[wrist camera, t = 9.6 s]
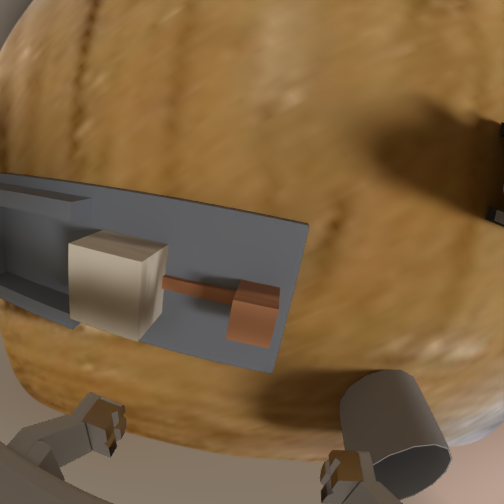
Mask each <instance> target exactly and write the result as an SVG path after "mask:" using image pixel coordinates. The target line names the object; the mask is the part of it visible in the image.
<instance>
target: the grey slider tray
mask: <svg viewBox="0 0 504 504" xmlns="http://www.w3.org/2000/svg"><path fill="white" fill-rule="evenodd" d="M308 229H309V224H308V223H303V222H299V221H294V220H289V219H284V218H280V217H275V216H270V215H265V214H260V213H255V212H250V211H245V210H240V209H235V208H229V207H224V206H219V205H214V204H208V203H203V202H197V201H192V200H186V199H180V198H175V197H169V196H163V195H157V194H151V193H145V192H139V191H133V190H127V189H121V188H114V187H108V186H101V185H95V184H88V183H81V182H74V181H67V180H59V179H52V178H44V177H37V176H29V175H20V174H12V173H0V298H2V299H4V300H6V301H8V302H10V303H12V304H14V305H16V306H18V307H21V308H23V309H25V310H27V311H29V312H32V313H34V314H36V315H38V316H41V317H43V318H45V319H48V320H50V321H52V322H55V323H57V324H60V325H62V326H65V327H67V328H70V329H74V328H75V327H76V326H77V325H79V324H80V323H81V322H79V321H76V320H73V319H71V318H70V305H69V277H68V248H69V243H71V242H73V241H76V240H78V239H81V238H83V237H86V236H88V235H91V234H94V233H96V232H99V231H102V230H107V231H112V232H116V233H120V234H125V235H129V236H134V237H138V238H143V239H147V240H152V241H157V242H161V243H166V244H169V246H168V254H167V263H166V272H165V274H166V275H170V276H174V277H179V278H183V279H187V280H191V281H196V282H200V283H204V284H209V285H213V286H217V287H222V288H226V289H231V290H235V291H237V288H238V286H239V283H240V281H241V279H242V280H247V281H251V282H256V283H261V284H266V285H270V286H275V287H280V299H279V311H278V315H277V319H276V323H275V327H274V331H273V335H272V339H271V343H270V347H269V348H265V347H260V346H255V345H251V344H246V343H242V342H237V341H233V340H228V339H226V335H227V329H228V324H229V318H230V313H231V307H232V305H229V304H224V303H220V302H216V301H211V300H207V299H203V298H199V297H194V296H190V295H186V294H182V293H178V292H174V291H170V290H166V289H164V293H163V304H162V313H161V314H160V316H159V317H158V318H157V319H156V320H155V322H154V323H153V324H152V325H151V326H150V328H149V329H148V330H147V331H146V333H145V334H144V335H143V336H142V337H141V339H140V340H139V341H141V342H144V343H147V344H150V345H154V346H157V347H161V348H164V349H168V350H171V351H175V352H179V353H183V354H186V355H190V356H194V357H198V358H202V359H206V360H210V361H214V362H219V363H223V364H227V365H232V366H236V367H241V368H246V369H250V370H255V371H260V372H266V373H271V374H272V372H273V369H274V365H275V361H276V358H277V354H278V351H279V347H280V343H281V339H282V336H283V332H284V328H285V324H286V320H287V317H288V313H289V309H290V305H291V301H292V297H293V293H294V289H295V285H296V281H297V277H298V272H299V268H300V264H301V260H302V256H303V251H304V247H305V243H306V238H307V234H308Z"/></svg>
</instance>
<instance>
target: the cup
mask: <svg viewBox="0 0 504 504" xmlns="http://www.w3.org/2000/svg"><path fill="white" fill-rule="evenodd" d="M339 416H340V422H341V428H342V434H343V441H344V447H345V451H366V452H369V453H370V456H371V460H372V465H373V469H374V474H375V478H376V482H380V483H381V484H382V485H384V486H385V487H386V488H387V489H388V490H389V491H390V492H391V493H392V494H393V495H394V496H395V497H396V498H397V499H398V500H402V499H405V498H408V497H411V496H414V495H416V494H418V493H419V492H421V491H423V490H424V489H426V488H428V487H429V486H431V485H433V484H434V483H435V482H436V481H437V480H438V479H439V478H440V477H441V476H442V475H443V474H444V473H445V472H446V471H447V469H448V467H449V465H450V463H451V460H452V456H451V453H450V449H449V447H448V445H447V443H446V440H445V438H444V436H443V434H442V432H441V430H440V428H439V426H438V424H437V422H436V420H435V418H434V416H433V414H432V412H431V410H430V408H429V406H428V404H427V402H426V400H425V398H424V396H423V394H422V392H421V390H420V388H419V386H418V384H417V383H416V381H415V379H414V377H413V376H411V375H409V374H407V373H406V372H404V371H402V370H381V371H378V372H375V373H372V374H369V375H366V376H364V377H362V378H361V379H360V380H358V381H357V382H356V383H354V384H353V385H352V386H350V387H349V388H348V390H347V391H346V393H345V394H344V396H343V397H342V399H341V400H340V409H339Z"/></svg>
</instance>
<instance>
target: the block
mask: <svg viewBox="0 0 504 504" xmlns="http://www.w3.org/2000/svg"><path fill="white" fill-rule="evenodd" d="M168 246H169V244H166V243H161V242H157V241H152V240H147V239H143V238H138V237H134V236H129V235H125V234H120V233H116V232H112V231H107V230H102V231H99V232H96V233H94V234H91V235H88V236H86V237H83V238H81V239H78V240H76V241H73V242H71V243H69V248H68V277H69V305H70V318H71V319H73V320H76V321H79V322H81V323H84V324H87V325H89V326H92V327H95V328H98V329H101V330H103V331H106V332H109V333H112V334H115V335H118V336H121V337H124V338H127V339H130V340H134V341H137V342H138V341H139V340H140V339H141V337H142V336H143V335H144V334H145V333H146V331H147V330H148V329H149V328H150V326H151V325H152V324H153V323H154V322H155V320H156V319H157V318H158V317H159V316H160V314H161V313H162V304H163V293H164V289H166V290H170V291H174V292H178V293H182V294H186V295H190V296H194V297H199V298H203V299H207V300H211V301H216V302H220V303H224V304H229V305H232V307H231V313H230V318H229V324H228V329H227V335H226V339H228V340H233V341H237V342H242V343H246V344H251V345H255V346H260V347H265V348H269V347H270V343H271V339H272V335H273V331H274V327H275V323H276V319H277V315H278V311H279V299H280V287H275V286H270V285H266V284H261V283H256V282H251V281H247V280H242V279H241V281H240V283H239V286H238V288H237V291H235V290H231V289H226V288H222V287H217V286H213V285H209V284H204V283H200V282H196V281H191V280H187V279H183V278H179V277H174V276H170V275H166V274H165V272H166V263H167V254H168Z"/></svg>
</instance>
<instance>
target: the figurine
mask: <svg viewBox="0 0 504 504" xmlns="http://www.w3.org/2000/svg"><path fill="white" fill-rule="evenodd" d="M500 135H501V136H503V137H504V123H501V133H500ZM503 193H504V186H503ZM486 220H489V221H491V222H494V223H496V224H499V225H501V226H504V211H502V210H499V209H497V208H494V207H491V206H489V207H488V211H487V215H486Z"/></svg>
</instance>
